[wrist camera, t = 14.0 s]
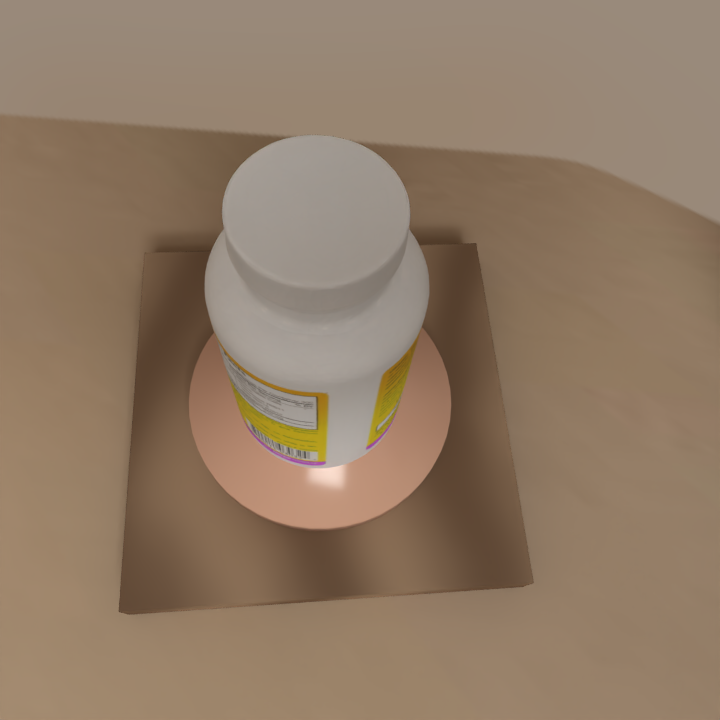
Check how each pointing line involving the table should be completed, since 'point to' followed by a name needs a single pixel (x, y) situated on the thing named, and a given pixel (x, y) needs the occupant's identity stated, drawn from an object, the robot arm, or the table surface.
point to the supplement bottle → (317, 297)
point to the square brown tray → (300, 547)
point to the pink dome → (321, 485)
